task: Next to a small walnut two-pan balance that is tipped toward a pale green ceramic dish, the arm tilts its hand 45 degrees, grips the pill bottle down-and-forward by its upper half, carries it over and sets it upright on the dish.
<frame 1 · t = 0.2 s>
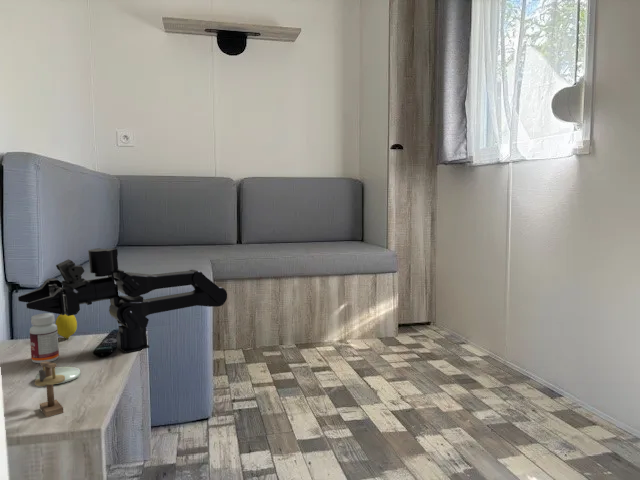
hand: (22, 302, 121), 17 cm above the table, tool horizontal, fingers open, 9 cm apart
balance: (51, 410, 101), on the table
pill bottle: (45, 360, 130), on the table
dish: (58, 378, 118), on the table
lemon: (67, 339, 147), on the table
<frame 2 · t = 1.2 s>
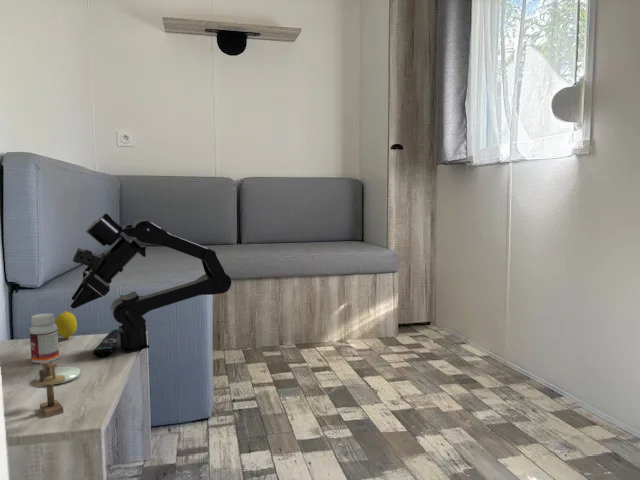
hand: (72, 303, 131), 14 cm above the table, tool tilted 45°, fingers open, 9 cm apart
nothing on the table moved.
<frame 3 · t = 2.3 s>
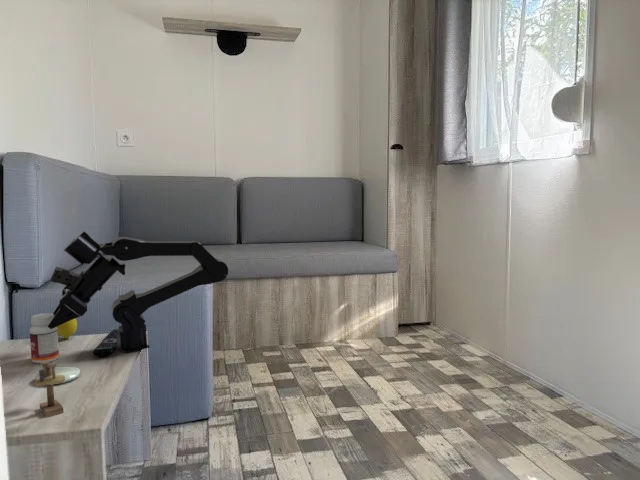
hand: (50, 323, 130), 9 cm above the table, tool tilted 45°, fingers open, 9 cm apart
nothing on the table moved.
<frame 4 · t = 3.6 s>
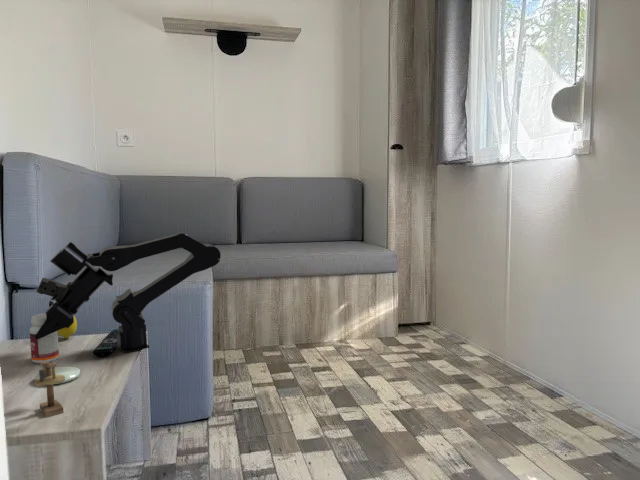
hand: (37, 334, 129), 7 cm above the table, tool tilted 45°, fingers closed on pill bottle, 6 cm apart
pill bottle: (45, 360, 130), on the table, touching gripper
everything else where it was.
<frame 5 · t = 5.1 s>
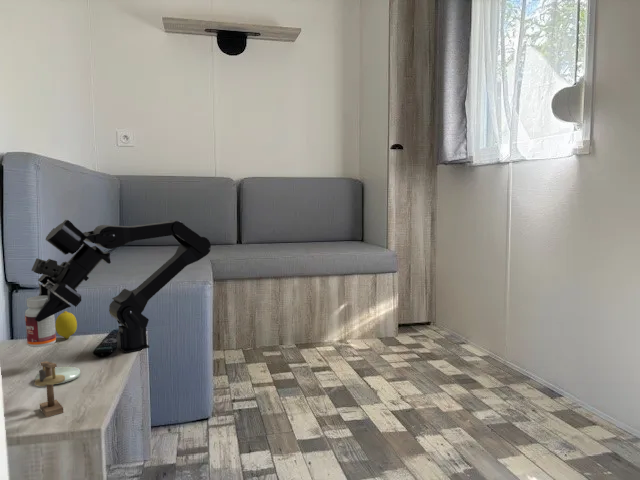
hand: (33, 317, 123), 12 cm above the table, tool tilted 45°, fingers closed on pill bottle, 6 cm apart
pill bottle: (42, 344, 124), point 6 cm above the table, touching gripper
everything else where it was.
when the fingers open (8 cm above the table, at t = 6.9 s): pill bottle stays where it is, resting on dish.
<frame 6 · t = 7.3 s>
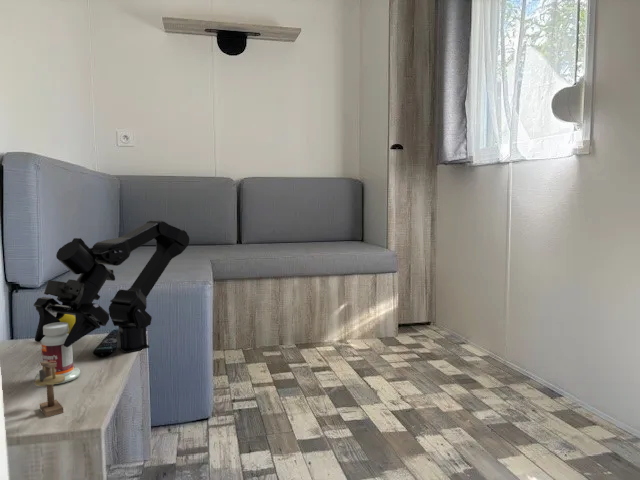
hand: (50, 343, 115), 9 cm above the table, tool tilted 45°, fingers open, 9 cm apart
pill bottle: (58, 374, 118), point 1 cm above the table, touching dish
everything else where it was.
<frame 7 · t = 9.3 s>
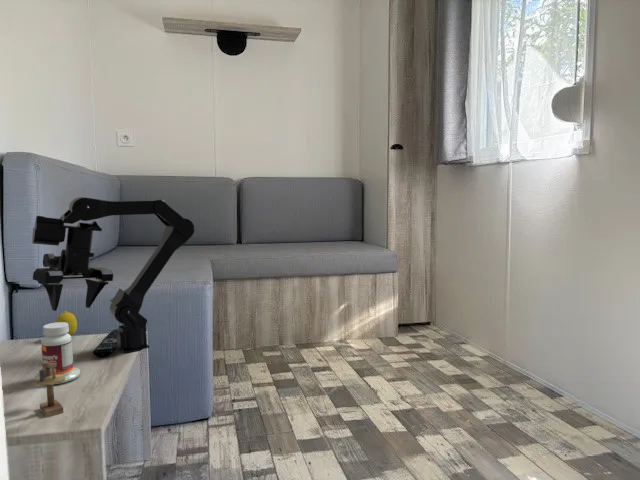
hand: (71, 309, 129), 13 cm above the table, tool pointing down, fingers open, 9 cm apart
nothing on the table moved.
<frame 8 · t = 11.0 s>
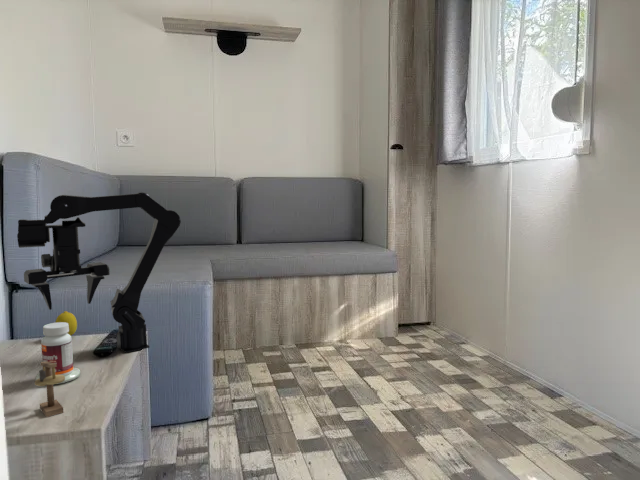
hand: (70, 306, 131), 13 cm above the table, tool pointing down, fingers open, 9 cm apart
nothing on the table moved.
at the end: pill bottle inside the target area on the dish (0.1 cm from its centre), point 0.9 cm above the dish's base; pill bottle tilted 0°; the gripper is holding nothing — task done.
